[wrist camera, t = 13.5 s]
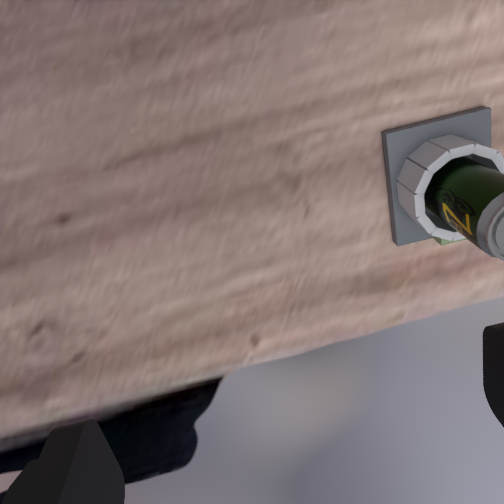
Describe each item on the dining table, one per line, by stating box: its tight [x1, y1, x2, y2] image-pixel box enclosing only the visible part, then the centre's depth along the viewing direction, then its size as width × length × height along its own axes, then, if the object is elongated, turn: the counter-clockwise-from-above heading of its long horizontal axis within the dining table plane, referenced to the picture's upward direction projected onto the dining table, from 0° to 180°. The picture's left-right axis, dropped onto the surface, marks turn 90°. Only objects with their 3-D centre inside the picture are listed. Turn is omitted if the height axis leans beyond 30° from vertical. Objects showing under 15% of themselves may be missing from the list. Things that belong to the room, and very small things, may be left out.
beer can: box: [424, 156, 504, 261], centre depth 36 cm, size 5×5×12 cm
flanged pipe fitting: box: [382, 106, 504, 246], centre depth 40 cm, size 11×9×5 cm
